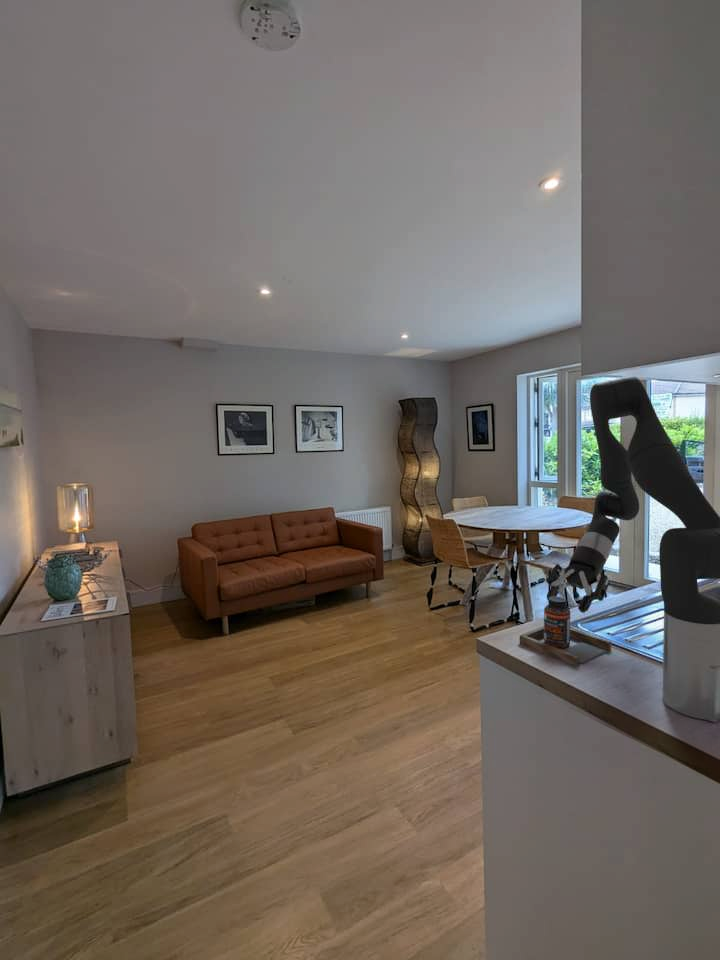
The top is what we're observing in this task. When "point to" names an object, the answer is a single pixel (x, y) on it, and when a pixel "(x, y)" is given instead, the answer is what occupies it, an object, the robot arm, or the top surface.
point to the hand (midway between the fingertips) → (564, 605)
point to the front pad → (585, 651)
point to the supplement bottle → (557, 623)
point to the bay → (567, 657)
